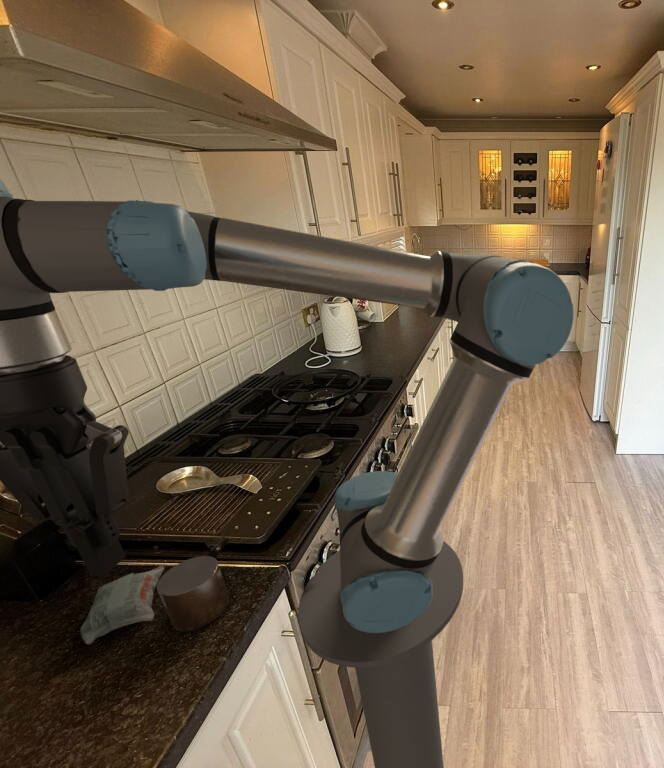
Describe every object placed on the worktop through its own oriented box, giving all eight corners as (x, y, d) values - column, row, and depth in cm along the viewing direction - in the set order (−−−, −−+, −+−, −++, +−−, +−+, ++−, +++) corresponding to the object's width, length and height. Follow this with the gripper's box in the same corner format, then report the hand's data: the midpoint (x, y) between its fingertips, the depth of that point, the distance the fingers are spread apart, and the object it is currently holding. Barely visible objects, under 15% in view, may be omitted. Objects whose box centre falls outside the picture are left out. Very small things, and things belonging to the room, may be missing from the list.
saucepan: (255, 560, 80) (246, 527, 77) (213, 629, 66) (200, 592, 63) (211, 563, 79) (200, 530, 76) (160, 634, 65) (144, 597, 62)
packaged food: (168, 576, 76) (159, 556, 74) (157, 627, 66) (146, 605, 65) (106, 597, 72) (95, 576, 70) (84, 654, 62) (71, 631, 61)
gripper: (-124, 379, 32) (8, 597, 41) (49, 377, 33) (144, 592, 42) (-16, 351, 39) (78, 543, 48) (125, 350, 40) (193, 539, 49)
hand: (108, 565), depth 45 cm, fingers closed
